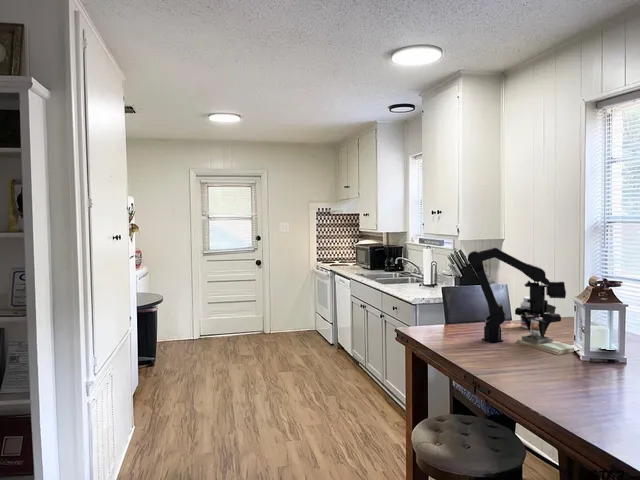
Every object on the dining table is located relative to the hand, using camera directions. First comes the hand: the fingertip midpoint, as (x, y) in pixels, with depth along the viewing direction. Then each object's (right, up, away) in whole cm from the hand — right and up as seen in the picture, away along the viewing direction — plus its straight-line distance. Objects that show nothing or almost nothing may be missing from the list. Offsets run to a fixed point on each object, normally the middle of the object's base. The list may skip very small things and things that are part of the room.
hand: (537, 335), depth 192 cm
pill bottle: (+9, -2, +27) cm, 29 cm away
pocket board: (+2, -4, -4) cm, 6 cm away
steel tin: (0, -4, 0) cm, 4 cm away
